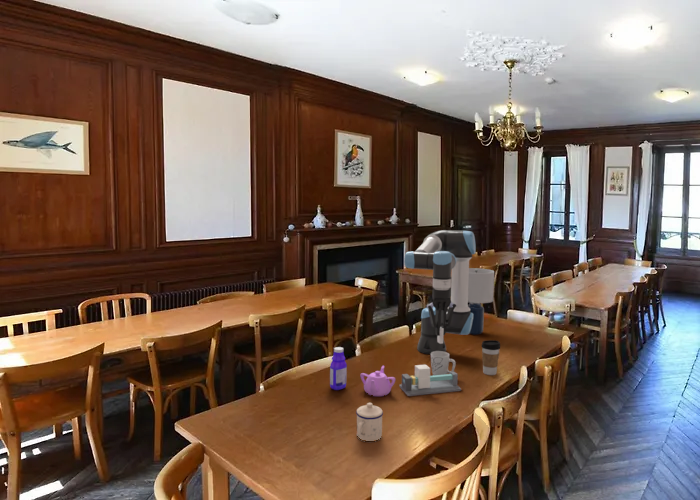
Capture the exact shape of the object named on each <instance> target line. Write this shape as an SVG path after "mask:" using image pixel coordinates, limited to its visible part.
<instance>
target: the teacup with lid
mask: <svg viewBox="0 0 700 500" xmlns="http://www.w3.org/2000/svg"><path fill="white" fill-rule="evenodd" d="M355 414H356V437H357V436H358V437H359V438H360V439H362V440H366V441H374V440H378V439H379V440H381V439H382V437H381V436H383V415H384V411H383V410H382V408H381V407H379V406H377V405H373V403H372V402H367V403H366V404H365V405H361V406H359V407H357V409H356V411H355ZM358 437H357V438H358ZM359 438H358V439H359ZM380 438H381V439H380ZM360 439H359V440H360ZM362 440H361V441H362ZM379 440H378V441H379Z"/></svg>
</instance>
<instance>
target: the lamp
mask: <svg viewBox="0 0 700 500" xmlns="http://www.w3.org/2000/svg"><path fill="white" fill-rule="evenodd" d="M494 278H495V271H494V270H493V269H492V270H491V269H489V268H488V269H486V268H478V267H476V268H474V267H469V278H468V303H469V304H468V307H469V308H470V313H473V322H472V327H471V330H470V333H469V334H468V335H475V336H477V335H481V334H483V332H484V318H485V315H484V313H485V308H484V306H482V304H489V303H493V301H494V285H495V284H494V283H495V282H494V281H495V279H494Z"/></svg>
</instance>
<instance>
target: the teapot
mask: <svg viewBox="0 0 700 500" xmlns="http://www.w3.org/2000/svg"><path fill="white" fill-rule="evenodd" d="M359 374H360V379H361V381H362V383H363V390H364V391H365V393H366V394H367V393H368V394H367V395H369V396H371V395H373V396H372V397H384V395H385V396H387V395H388V394H389V393H391V391H392V387H393V386H394V384H395V383H396V377H394V376H387V375H386V374H385V365H382V366H381V367H380V370H375V372H371V373H370V374H368V373H364V372H362V373H359ZM365 377H367V378H366V379H365Z"/></svg>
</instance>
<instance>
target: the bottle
mask: <svg viewBox="0 0 700 500" xmlns="http://www.w3.org/2000/svg"><path fill="white" fill-rule="evenodd" d="M344 351H345V350H344V347H341V346H337V347H333V355H332V356H331V360H332V361H331V363H330V365H329V369H330V370H329V387H330V388H331V389H332V390H334V391H339V390H343V389H345V388H346V386H347V373H348V371H347V366H348V364H347V362H346V357H345V353H344Z"/></svg>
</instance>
